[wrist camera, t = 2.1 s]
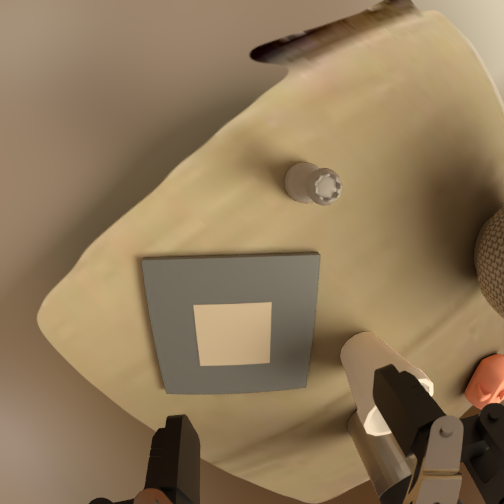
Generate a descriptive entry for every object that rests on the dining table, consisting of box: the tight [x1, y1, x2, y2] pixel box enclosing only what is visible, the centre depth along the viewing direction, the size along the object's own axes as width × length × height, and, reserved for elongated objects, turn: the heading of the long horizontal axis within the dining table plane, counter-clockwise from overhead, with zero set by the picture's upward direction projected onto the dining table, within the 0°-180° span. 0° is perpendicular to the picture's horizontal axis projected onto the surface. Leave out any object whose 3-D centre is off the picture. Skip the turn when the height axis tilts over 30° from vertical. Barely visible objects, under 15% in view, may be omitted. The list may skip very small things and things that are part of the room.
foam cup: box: [340, 332, 433, 436], centre depth 32 cm, size 10×9×13 cm
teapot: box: [465, 354, 504, 410], centre depth 41 cm, size 12×18×10 cm, turn 86°
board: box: [141, 252, 320, 394], centre depth 34 cm, size 20×20×1 cm
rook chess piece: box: [284, 162, 342, 205], centre depth 27 cm, size 4×4×8 cm
